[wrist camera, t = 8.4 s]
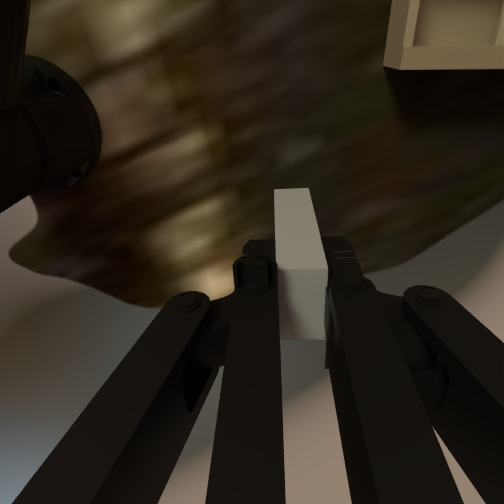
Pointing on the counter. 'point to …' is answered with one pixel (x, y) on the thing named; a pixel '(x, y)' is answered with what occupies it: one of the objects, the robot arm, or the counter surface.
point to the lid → (499, 30)
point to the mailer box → (443, 35)
